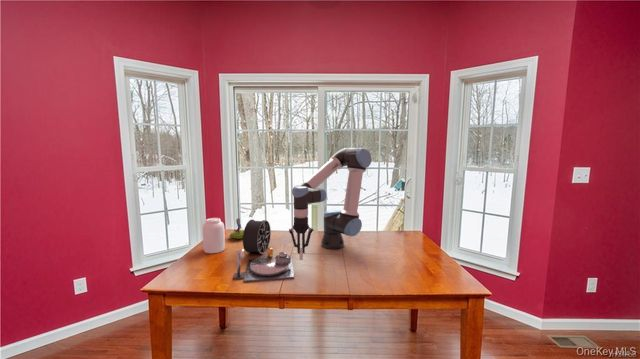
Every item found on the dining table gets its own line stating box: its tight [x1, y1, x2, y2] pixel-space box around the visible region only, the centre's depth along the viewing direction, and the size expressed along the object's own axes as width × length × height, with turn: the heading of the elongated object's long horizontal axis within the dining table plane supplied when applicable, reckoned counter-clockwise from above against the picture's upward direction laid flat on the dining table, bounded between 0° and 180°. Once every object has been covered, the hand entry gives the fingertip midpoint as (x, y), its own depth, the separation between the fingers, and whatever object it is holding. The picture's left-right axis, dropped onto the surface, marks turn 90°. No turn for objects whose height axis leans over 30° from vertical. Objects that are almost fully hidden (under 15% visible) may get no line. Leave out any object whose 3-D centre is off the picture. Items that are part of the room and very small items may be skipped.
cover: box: [275, 251, 292, 266], centre depth 142 cm, size 8×8×5 cm
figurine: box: [228, 217, 244, 240], centre depth 188 cm, size 14×13×15 cm
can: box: [202, 217, 226, 254], centre depth 166 cm, size 12×12×20 cm
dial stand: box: [232, 249, 246, 280], centre depth 133 cm, size 5×5×14 cm
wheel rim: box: [242, 219, 272, 255], centre depth 164 cm, size 20×9×20 cm, turn 168°
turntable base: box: [243, 256, 295, 283], centre depth 142 cm, size 24×24×1 cm
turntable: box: [250, 246, 289, 276], centre depth 141 cm, size 20×20×7 cm
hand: (301, 258), depth 144 cm, fingers closed
